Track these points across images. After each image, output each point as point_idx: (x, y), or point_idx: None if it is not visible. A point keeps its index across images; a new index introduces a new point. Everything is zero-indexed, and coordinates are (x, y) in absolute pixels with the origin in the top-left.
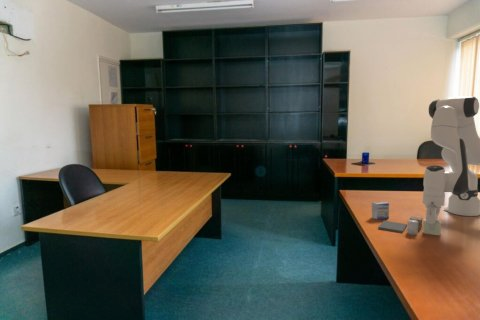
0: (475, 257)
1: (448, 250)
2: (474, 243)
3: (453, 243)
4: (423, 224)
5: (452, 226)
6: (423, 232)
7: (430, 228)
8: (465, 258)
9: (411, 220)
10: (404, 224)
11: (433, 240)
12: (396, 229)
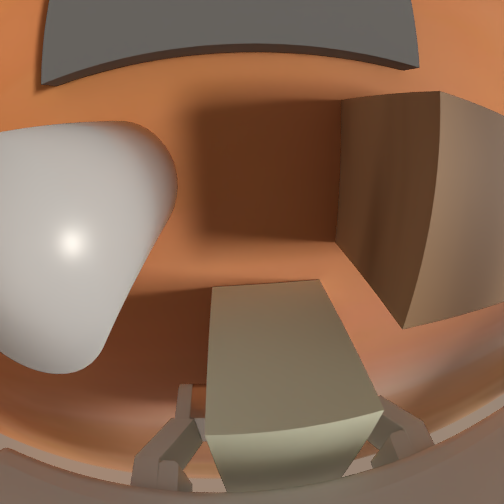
0: (55, 454)
1: (22, 409)
2: (210, 477)
3: (129, 440)
4: (209, 377)
5: (464, 378)
6: (213, 296)
7: (179, 411)
8: (19, 432)
9: (11, 226)
10: (384, 32)
11: (77, 372)
12: (63, 5)
